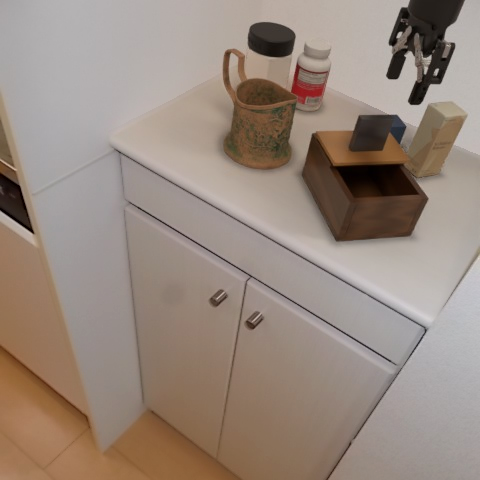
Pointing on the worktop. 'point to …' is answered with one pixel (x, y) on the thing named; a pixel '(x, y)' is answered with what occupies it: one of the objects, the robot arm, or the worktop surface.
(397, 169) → the walnut box
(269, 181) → the worktop surface
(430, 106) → the box
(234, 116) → the brown green pitcher
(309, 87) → the pill bottle
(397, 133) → the block
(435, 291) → the worktop surface
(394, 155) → the slide door
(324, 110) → the worktop surface
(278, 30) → the jar
